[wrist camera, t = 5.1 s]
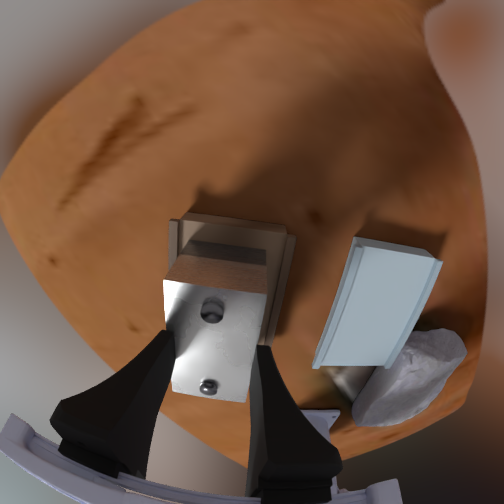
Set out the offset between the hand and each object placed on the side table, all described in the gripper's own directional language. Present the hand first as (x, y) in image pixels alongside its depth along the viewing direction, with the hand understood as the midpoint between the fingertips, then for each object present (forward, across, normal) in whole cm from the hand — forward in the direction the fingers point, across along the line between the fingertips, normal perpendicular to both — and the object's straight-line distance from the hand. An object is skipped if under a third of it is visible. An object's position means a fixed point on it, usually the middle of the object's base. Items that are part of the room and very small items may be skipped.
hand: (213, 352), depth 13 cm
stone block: (+7, -19, +8) cm, 21 cm away
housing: (+5, 0, 0) cm, 5 cm away
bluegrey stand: (+6, -10, 0) cm, 12 cm away
